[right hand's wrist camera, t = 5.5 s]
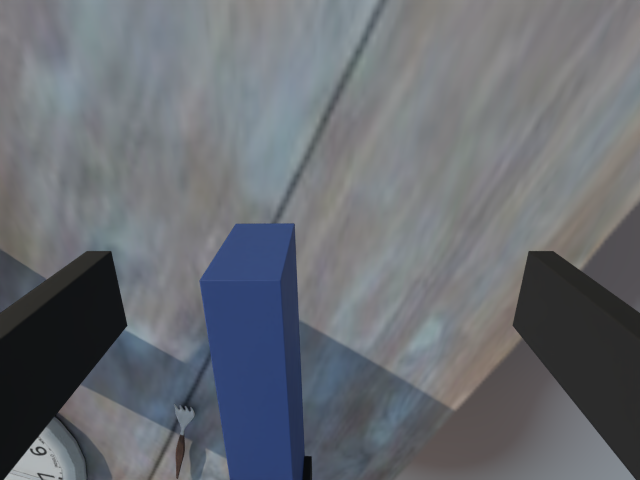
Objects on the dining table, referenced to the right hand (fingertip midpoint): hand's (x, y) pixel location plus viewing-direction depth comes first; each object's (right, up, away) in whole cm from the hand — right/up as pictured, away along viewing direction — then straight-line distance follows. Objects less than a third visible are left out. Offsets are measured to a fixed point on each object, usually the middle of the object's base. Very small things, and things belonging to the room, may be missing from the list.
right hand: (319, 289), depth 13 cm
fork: (-19, -26, +42) cm, 53 cm away
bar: (-4, -11, +23) cm, 26 cm away
